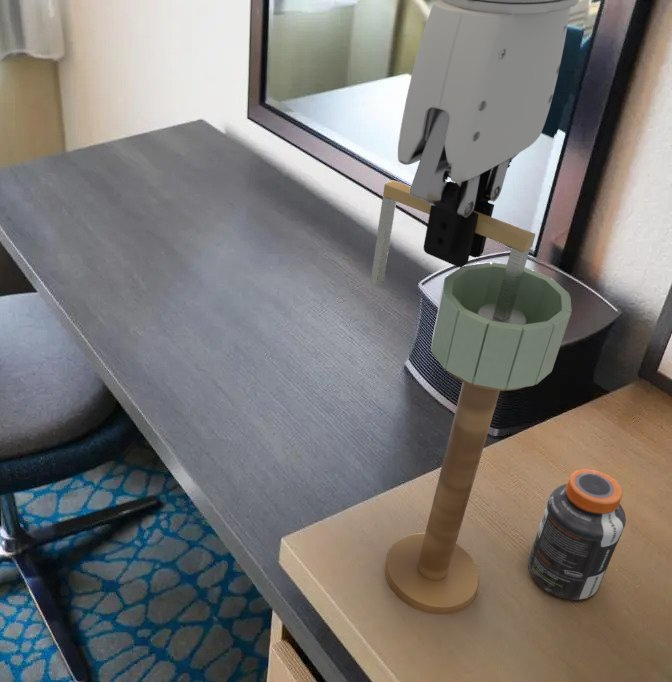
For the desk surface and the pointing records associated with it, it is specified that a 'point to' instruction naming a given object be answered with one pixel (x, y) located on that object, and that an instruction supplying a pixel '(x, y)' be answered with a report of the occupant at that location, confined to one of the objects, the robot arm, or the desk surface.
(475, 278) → the bowl
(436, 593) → the stand
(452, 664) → the desk surface
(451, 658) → the desk surface
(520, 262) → the wood-topped metal bracket
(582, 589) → the pill bottle
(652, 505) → the desk surface
